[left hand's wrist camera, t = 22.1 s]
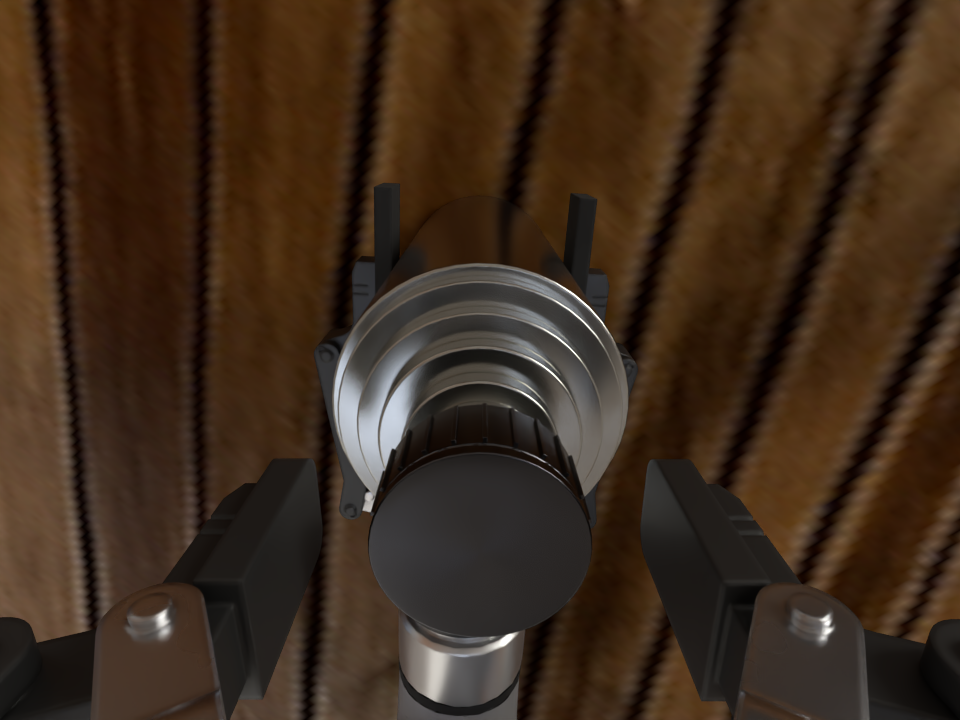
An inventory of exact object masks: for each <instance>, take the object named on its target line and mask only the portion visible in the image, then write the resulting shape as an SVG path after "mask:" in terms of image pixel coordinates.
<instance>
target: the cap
mask: <svg viewBox="0 0 960 720" xmlns="http://www.w3.org/2000/svg"><path fill="white" fill-rule="evenodd" d="M370 515H371V516H373V518H372V521H371V525H370V529H369V536H368V553H369V559H370V564H371V567H372V570H373V573H374V576H375V578H376V579H377V581H378V583H379V585H380V587H381V588H382V590H383V591H384V593H385V594H386V596H387V597H388V598H389V599H390V600H391V601H392V602H393V603H394V604H395V605H396V606H397V607H398V608H399V609H400V610H401V611H403V612H404V613H405V614H406V615H408V616H410V617H411V618H413V619H414V620H416V621H417V622H419V623H421V624H423V625H425V626H428V627H430V628H433V629H435V630H438V631H441V632H445V633H449V634H453V635H458V636H466V637H496V636H502V635H508V634H512V633H515V632H519V631H522V630H525V629H528V628H530V627H533V626H535V625H537V624H539V623H541V622H543V621H544V620H546V619H548V618H549V617H551V616H552V615H554V614H555V613H557V612H558V611H559V610H560V609H561V608H562V607H563V606H565V605H566V604H567V603H568V601H569V600H570V599H571V598H572V597H573V596H574V595H575V593H576V592H577V590H578V589H579V587H580V586H581V584H582V582H583V580H584V578H585V576H586V574H587V571H588V567H589V564H590V561H591V554H592V534H591V529H590V524H589V523H591V518H590V514H589V511H588V508H587V504H586V501H585V497H584V494H583V490H582V487H581V483H580V480H579V477H578V473H577V470H576V466H575V463H574V460H573V457H572V455H570V456H569V455H568V453H567V451H566V450H565V448H564V446H563V445H562V444H561V441H560V437H559V436H558V435H556V436H555V435H554V434H553V433H552V432H551V431H550V430H549V429H547V428H546V427H545V426H544V425H543V424H541V423H540V420H539V419H537V418H536V419H533V418H531V417H530V416H527V415H525V414H523V413H520V412H518V411H516V410H515V408H512V407H511V408H505V407H499V406H494V405H487V403H482V404H481V405H479V404H477V405H466V406H461V407H459V406H458V405H456V406H454V408H450V409H448V410H444V411H442V412H439V413H437V414H435V415H432V414H430V415H428V418H427V419H426V420H424V421H422V422H420V423H419V424H418V425H417V426H415V427H414V428H413V429H412V430H410V429H408V430H407V431H406V434H405V437H404V438H403V439H402V440H401V441H400V442H399V444H398V445H397V447H396V448H395V449H393V448H392V450H391V452H390V455H389V459H388V462H387V465H386V469H385V471H384V470H383V472H382V475H381V479H380V482H379V485H378V489H377V492H376V496H375V499H374V502H373V506H372V509H371V513H370Z"/></svg>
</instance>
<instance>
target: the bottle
mask: <svg viewBox="0 0 960 720" xmlns="http://www.w3.org/2000/svg"><path fill="white" fill-rule="evenodd" d="M331 398H332V414H333V419H334V424H335V429H336V432H337V435H338V438H339V441H340V444H341V447H342V449H343V451H344V453H345V455H346V457H347V459H348V461H349V463H350V464H351V466H352V467H353V469H354V470H355V472H356V473H357V475H358V476H359V478H360V479H361V481H362V482H363V484H364V485H365V486H366V487H367V488H368V489H369V491H370V492H371V493H372V494H373V495H374V496H376V492H377V489H378V485H379V482H380V479H381V475H382V472H383V470H384V471H385V469H386V465H387V462H388V459H389V455H390V452H391V450H392V448H393V449H395V448H396V447H397V445H398V444H399V442H400V441H401V440H402V439H403V438H404V437H405V434H406V431H407V430H408V429H410V430H412V429H413V428H414V427H415V426H417V425H418V424H419V423H420V422H422V421H424V420H426V419H427V418H428V415H430V414H432V415H435V414H437V413H439V412H442V411H444V410H448V409H450V408H454V406H456V405H458V406H459V407H461V406H466V405H477V404H479V405H481V404H482V403H487V405H494V406H499V407H505V408H511V407H512V408H515V410H516V411H518V412H520V413H523V414H525V415H527V416H530V417H531V418H533V419H536V418H537V419H539V420H540V423H541V424H543V425H544V426H545V427H546V428H547V429H549V430H550V431H551V432H552V433H553V434H554V435H555V436H556V435H558V436H559V437H560V441H561V444H562V445H563V446H564V448H565V450H566V451H567V453H568V455H569V456H570V455H572V457H573V460H574V463H575V466H576V470H577V473H578V477H579V480H580V483H581V487H582V490H583V494H584V497H585V496H586V495H587V494H588V493H589V492H590V491H591V490H592V488H593V487H594V486H595V485H596V484H597V482H598V481H599V480H600V478H601V477H602V475H603V473H604V472H605V471H606V469H607V467H608V466H609V464H610V462H611V461H612V459H613V458H614V455H615V453H616V451H617V449H618V446H619V444H620V442H621V439H622V436H623V432H624V429H625V425H626V420H627V413H628V382H627V375H626V370H625V366H624V363H623V360H622V356H621V353H620V351H619V349H618V347H617V345H616V342H615V340H614V338H613V336H612V335H611V333H610V331H609V330H608V328H607V327H606V325H605V324H604V322H603V321H602V319H601V318H600V316H599V315H598V313H597V312H596V311H595V309H594V308H593V306H592V305H591V303H590V302H589V300H588V299H587V297H586V296H585V294H584V293H583V292H582V290H581V289H580V287H579V286H578V284H577V283H576V281H575V280H574V278H573V277H572V275H571V274H570V273H569V271H568V270H567V268H566V267H565V265H564V264H563V262H562V261H561V259H560V258H559V256H558V255H557V254H556V252H555V251H554V249H553V248H552V246H551V245H550V243H549V242H548V240H547V239H546V237H545V236H544V235H543V233H542V232H541V230H540V229H539V227H538V226H537V224H536V223H535V222H534V221H533V219H532V218H531V217H530V216H529V215H528V214H527V213H525V212H524V211H523V210H522V209H520V208H519V207H517V206H516V205H514V204H512V203H510V202H508V201H506V200H503V199H500V198H496V197H491V196H469V197H464V198H460V199H457V200H455V201H452V202H450V203H448V204H446V205H444V206H442V207H441V208H440V209H438V210H437V211H436V212H434V213H433V214H432V215H431V216H430V217H429V218H428V219H427V221H426V222H425V223H424V224H423V226H422V227H421V229H420V230H419V232H418V233H417V234H416V236H415V237H414V239H413V240H412V242H411V243H410V245H409V246H408V248H407V249H406V251H405V252H404V253H403V255H402V256H401V258H400V259H399V261H398V262H397V264H396V265H395V267H394V268H393V270H392V271H391V272H390V274H389V275H388V277H387V278H386V280H385V281H384V283H383V284H382V286H381V287H380V289H379V290H378V291H377V293H376V294H375V296H374V297H373V299H372V300H371V302H370V303H369V305H368V306H367V308H366V309H365V310H364V312H363V313H362V315H361V316H360V318H359V319H358V321H357V322H356V324H355V325H354V327H353V328H352V330H351V332H350V333H349V335H348V337H347V339H346V340H345V342H344V344H343V347H342V349H341V352H340V354H339V357H338V359H337V363H336V367H335V371H334V375H333V383H332V394H331Z"/></svg>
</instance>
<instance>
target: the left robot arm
mask: <svg viewBox="0 0 960 720" xmlns="http://www.w3.org/2000/svg"><path fill="white" fill-rule="evenodd" d="M321 543H322V518H321V509H320V500H319V491H318V482H317V473H316V467H315V463H314V461H313V460H312V459H273V460H272V461H271V462H270V464H269V465H268V467H267V469H266V470H265V472H264V473H263V475H262V476H261V478H260V479H259V481H258V482H257V483H245V484H244V485H242V486H241V487H239V488H238V489H236V490H235V491H234V492H232V493H231V494H229V495H228V496H226V497H225V498H224V499H223V500H222V502H221V503H220V504H219V506H218V507H217V508H216V510H215V511H214V513H213V514H212V515H211V519H209V520H208V521H207V522H206V524H205V525H204V526H203V528H202V529H201V533H200V534H198V535H197V536H196V538H195V539H194V540H193V542H192V543H191V544H190V546H189V547H188V549H187V550H186V551H185V553H184V554H183V556H182V557H181V558H180V560H179V561H178V562H177V564H176V565H175V567H174V568H173V569H172V571H171V572H170V574H169V575H168V576H167V578H166V579H165V581H164V582H163V583H162V584H157V585H154V586H150V587H147V588H144V589H142V590H139V591H137V592H135V593H133V594H131V595H129V596H128V597H126V598H124V599H123V600H121V601H120V602H118V603H117V604H116V605H115V606H113V607H112V608H111V609H110V610H109V611H108V612H107V613H106V614H105V615H104V617H103V618H102V620H101V621H100V623H99V625H98V627H97V629H94V630H90V631H86V632H82V633H77V634H73V635H69V636H64V637H60V638H56V639H51V640H47V641H43V642H38V643H37V642H36V639H35V637H34V634H33V631H32V628H31V626H30V625H29V623H27V622H26V621H24V620H22V619H19V618H13V617H1V618H0V720H230V718H231V715H232V713H233V711H234V708H235V706H236V704H237V701H238V699H263V697H264V695H265V692H266V690H267V687H268V684H269V682H270V679H271V677H272V674H273V672H274V669H275V667H276V664H277V661H278V659H279V656H280V654H281V651H282V649H283V646H284V644H285V641H286V638H287V636H288V633H289V631H290V628H291V626H292V623H293V621H294V618H295V615H296V613H297V610H298V608H299V605H300V603H301V600H302V597H303V595H304V592H305V590H306V587H307V585H308V582H309V580H310V577H311V574H312V572H313V569H314V567H315V564H316V562H317V559H318V556H319V553H320V549H321ZM641 544H642V550H643V554H644V557H645V560H646V563H647V565H648V568H649V570H650V573H651V575H652V578H653V580H654V583H655V585H656V588H657V590H658V593H659V595H660V598H661V600H662V603H663V605H664V608H665V610H666V613H667V616H668V618H669V621H670V623H671V626H672V628H673V631H674V633H675V636H676V638H677V641H678V643H679V646H680V648H681V651H682V653H683V656H684V658H685V661H686V663H687V666H688V668H689V671H690V673H691V676H692V678H693V681H694V684H695V686H696V689H697V691H698V694H699V696H700V699H701V701H726V702H727V704H728V707H729V709H730V711H731V713H732V717H731V720H960V619H950V620H943V621H940V622H938V623H936V624H935V625H934V626H933V627H932V629H931V630H930V633H929V636H928V639H927V642H926V644H924V643H919V642H915V641H911V640H906V639H902V638H898V637H893V636H889V635H885V634H881V633H876V632H873V631H869V630H866V629H863V627H862V625H861V623H860V621H859V620H858V618H857V617H856V615H855V614H854V613H853V612H852V611H851V610H850V609H849V608H848V607H847V606H845V605H844V604H843V603H842V602H840V601H839V600H837V599H836V598H834V597H832V596H831V595H829V594H827V593H825V592H823V591H821V590H818V589H816V588H813V587H810V586H806V585H803V584H801V583H800V581H799V580H798V578H797V577H796V576H795V574H794V573H793V572H792V570H791V569H790V567H789V566H788V565H787V563H786V562H785V561H784V559H783V558H782V556H781V555H780V554H779V552H778V551H777V550H776V548H775V547H774V545H773V544H772V543H771V541H770V540H769V539H768V537H767V536H764V534H763V530H762V529H761V528H760V526H759V525H758V524H757V522H756V521H753V517H752V515H751V514H750V513H749V511H748V510H747V508H746V507H745V506H744V504H743V503H742V502H741V500H740V499H739V498H737V497H736V496H734V495H733V494H731V493H730V492H729V491H727V490H726V489H724V488H723V487H721V486H720V485H719V484H706V482H705V481H704V479H703V478H702V476H701V475H700V473H699V472H698V470H697V469H696V467H695V466H694V464H693V463H692V462H691V461H690V460H688V459H652V460H650V462H649V464H648V467H647V474H646V483H645V492H644V500H643V509H642V518H641Z"/></svg>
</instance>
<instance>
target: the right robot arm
mask: <svg viewBox="0 0 960 720" xmlns="http://www.w3.org/2000/svg"><path fill="white" fill-rule="evenodd" d="M596 205H597V199H596V198H593V197H591V196H589V195H587V194H575V193H571V195H570V204H569V214H568V223H567V233H566V243H565V252H564V262H563V264H564V265H565V267H566V268H567V270H568V271H569V273H570V274H571V275H572V277H573V278H574V280H575V281H576V283H577V284H578V286H579V287H580V289H581V290H582V292H583V293H584V294H585V296H586V297H587V299H588V300H589V302H590V303H591V305H592V306H593V308H594V309H595V311H596V312H597V313H598V315H599V316H600V318H601V319H602V321H603V322H604V321H605V314H606V306H607V297H608V291H609V283H608V280H607V276H606V274H605V273H604V272H603V271H602V270H601V269H594V268H589V264H590V255H591V247H592V239H593V230H594V222H595V214H596ZM374 238H375V257H371V256H362V257H361V258H359V259H358V260H357V261H356V263H355V266H354V269H353V271H352V284H353V285H352V290H353V325H351V326H349V327H346V328H342V329H337V328H335V329H332V330H331V331H330V332H328V334H327V335H326V336H325V337H324V339H323V340H322V341H321V342H320V344H319V345H318V346H317V347H316V349H315V351H314V358H315V362H316V366H317V370H318V375H319V379H320V383H321V387H322V391H323V396H324V400H325V404H326V408H327V412H328V417H329V421H330V425H331V429H332V433H333V438H334V442H335V446H336V450H337V454H338V459H339V463H340V467H341V471H342V475H343V479H344V483H343V489H342V495H341V501H340V506H339V511H340V513H341V515H342V516H343V517H344V518H347V519H356V518H358V517H359V516H360V515H361V513H362V511H367V512H371V509H372V506H373V502H374V499H375V496H374V495H373V494H372V493H371V492H370V491H369V489H368V488H367V487H366V486H365V485H364V484H363V482H362V481H361V479H360V478H359V476H358V475H357V473H356V472H355V470H354V469H353V467H352V466H351V464H350V463H349V461H348V459H347V457H346V455H345V453H344V451H343V449H342V447H341V444H340V441H339V438H338V435H337V432H336V429H335V424H334V419H333V414H332V398H331V394H332V383H333V375H334V371H335V367H336V363H337V359H338V357H339V354H340V352H341V349H342V347H343V344H344V342H345V340H346V339H347V337H348V335H349V333H350V332H351V330H352V328H353V327H354V325H355V324H356V322H357V321H358V319H359V318H360V316H361V315H362V313H363V312H364V310H365V309H366V308H367V306H368V305H369V303H370V302H371V300H372V299H373V297H374V296H375V294H376V293H377V291H378V290H379V289H380V287H381V286H382V284H383V283H384V281H385V280H386V278H387V277H388V275H389V274H390V272H391V271H392V270H393V268H394V267H395V265H396V264H397V262H398V261H399V242H400V184H395V183H382V184H380V185H378V186H375V187H374ZM616 345H617V347H618V349H619V351H620V353H621V356H622V360H623V363H624V366H625V370H626V375H627V382H628V398H629V395H630V392H631V390H632V387H633V384H634V381H635V378H636V375H637V372H638V367H637V364H636V363H635V362H634V360H633V359H632V357H631V356H630V354H629V353H628V352H627V350H626V349H625V347H624V346H623V345H621V344H619V343H616ZM598 483H599V481H598V482H597V484H596V485H595V486H594V487H593V488H592V490H591V491H590V492H589V493H588V494H587V495H586V496H585V501H586V504H587V508H588V511H589V514H590V518H591V523H589V524H590V529H591V528H593V527H594V525H595V524H596V503H595V491H596V488H597V486H598ZM524 636H525V630H522V631H519V632H515V633H512V634H508V635H502V636H496V637H466V636H458V635H453V634H449V633H445V632H441V631H438V630H435V629H433V628H430V627H428V626H425V625H423V624H421V623H419V622H417V621H416V620H414V619H413V618H411V617H410V616H408V615H406V614H405V613H404V612H403V611H401V610H400V609H399V694H398V714H397V720H517V700H518V684H519V674H520V668H521V661H522V656H523V646H524Z"/></svg>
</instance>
